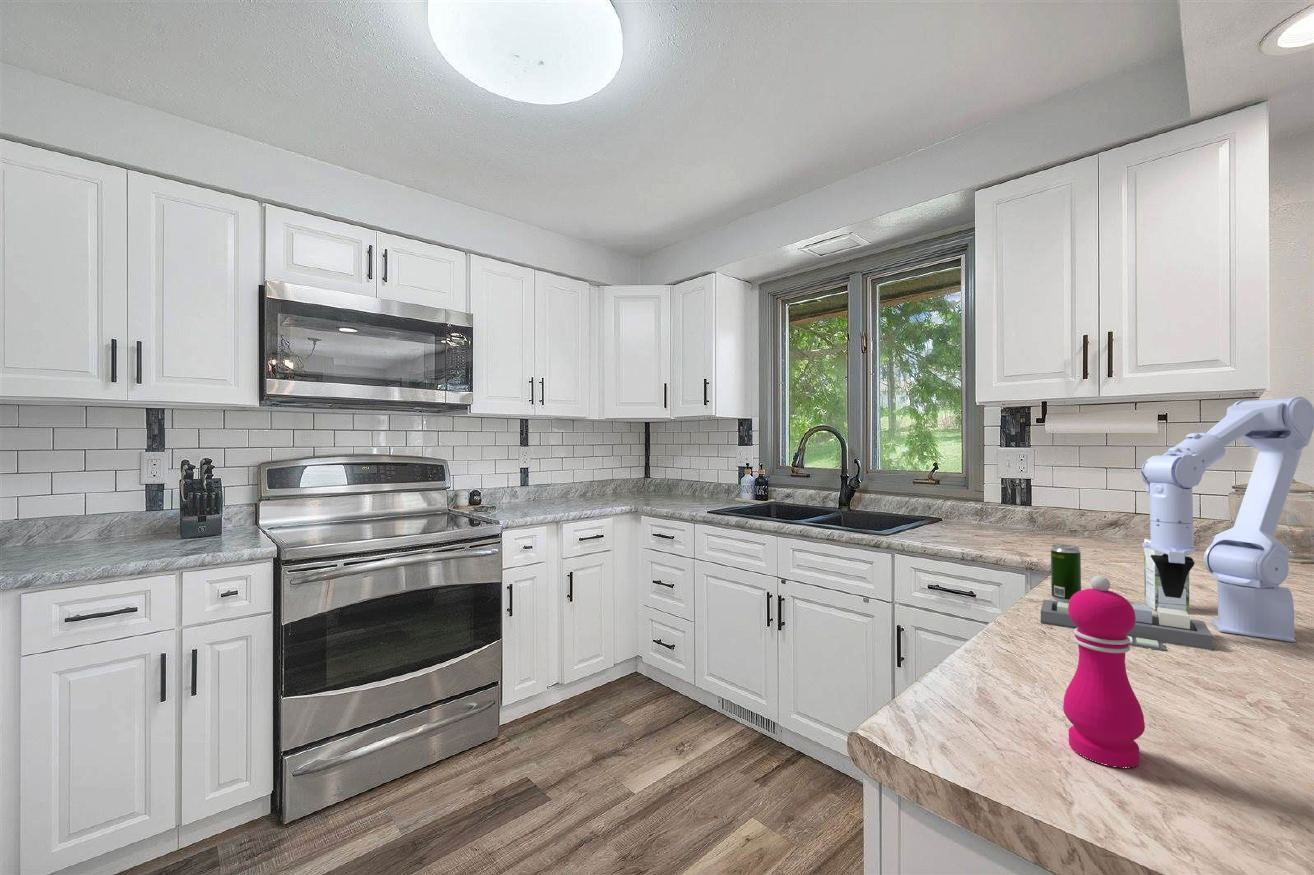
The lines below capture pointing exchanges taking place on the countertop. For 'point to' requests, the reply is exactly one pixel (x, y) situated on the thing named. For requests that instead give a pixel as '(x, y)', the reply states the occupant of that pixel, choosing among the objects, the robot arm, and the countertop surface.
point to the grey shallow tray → (1141, 628)
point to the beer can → (1065, 571)
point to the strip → (1146, 643)
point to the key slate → (1142, 613)
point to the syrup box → (1154, 587)
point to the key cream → (1173, 618)
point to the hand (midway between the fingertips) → (1172, 596)
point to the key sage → (1062, 607)
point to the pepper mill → (1103, 679)
